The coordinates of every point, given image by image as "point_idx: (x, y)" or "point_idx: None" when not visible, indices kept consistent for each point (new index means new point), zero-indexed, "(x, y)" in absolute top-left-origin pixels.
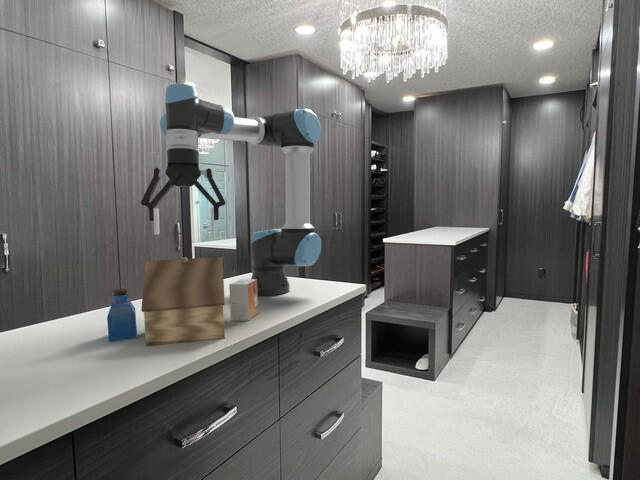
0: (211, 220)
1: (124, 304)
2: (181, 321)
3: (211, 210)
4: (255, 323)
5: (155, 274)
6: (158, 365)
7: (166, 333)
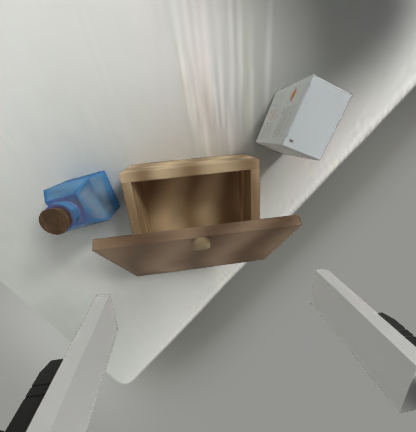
0: (347, 345)
1: (82, 223)
2: None
3: (390, 394)
4: (291, 170)
5: (136, 258)
6: (183, 298)
7: None
